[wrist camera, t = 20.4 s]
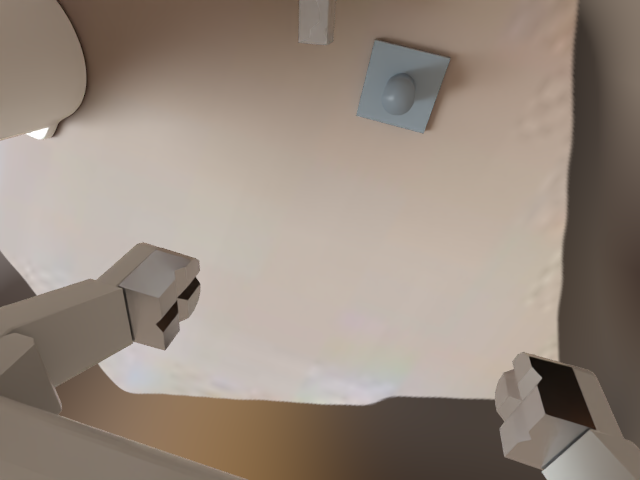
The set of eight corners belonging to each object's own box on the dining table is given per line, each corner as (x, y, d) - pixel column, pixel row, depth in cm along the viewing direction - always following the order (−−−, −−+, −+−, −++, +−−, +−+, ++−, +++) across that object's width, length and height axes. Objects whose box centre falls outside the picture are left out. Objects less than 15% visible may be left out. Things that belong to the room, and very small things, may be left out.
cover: (358, 112, 34) (349, 127, 30) (376, 38, 30) (369, 45, 27) (423, 129, 33) (423, 147, 30) (449, 56, 30) (453, 66, 26)
